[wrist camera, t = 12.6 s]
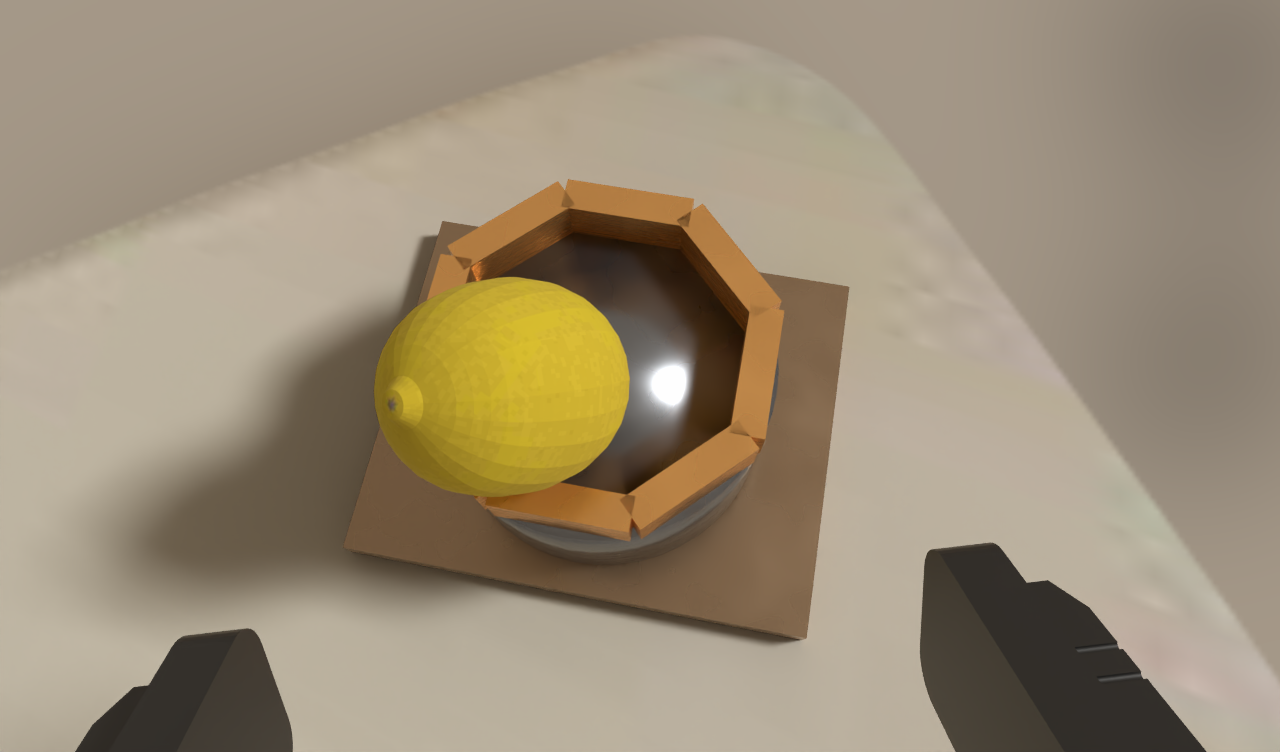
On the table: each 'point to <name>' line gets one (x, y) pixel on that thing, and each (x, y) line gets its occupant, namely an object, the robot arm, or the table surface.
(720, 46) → the table surface
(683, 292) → the pot on wooden stand
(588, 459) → the lemon
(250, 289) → the table surface
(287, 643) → the table surface
